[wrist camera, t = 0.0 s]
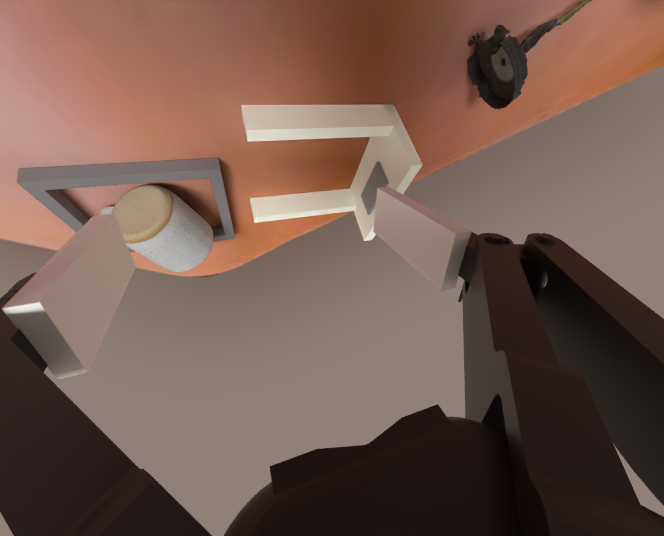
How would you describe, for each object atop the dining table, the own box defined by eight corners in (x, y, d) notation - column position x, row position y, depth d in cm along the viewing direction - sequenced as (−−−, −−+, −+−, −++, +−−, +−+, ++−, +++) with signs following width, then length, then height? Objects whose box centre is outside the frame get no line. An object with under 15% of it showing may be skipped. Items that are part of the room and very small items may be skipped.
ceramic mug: (168, 169, 29) (172, 234, 26) (211, 210, 37) (218, 263, 34) (74, 199, 29) (69, 266, 27) (136, 233, 37) (136, 287, 35)
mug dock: (241, 104, 25) (257, 177, 22) (393, 104, 29) (422, 164, 26) (250, 203, 38) (261, 256, 35) (355, 193, 42) (372, 239, 39)
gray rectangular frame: (18, 168, 24) (16, 182, 24) (218, 157, 29) (220, 169, 29) (104, 245, 37) (104, 255, 37) (233, 229, 42) (235, 238, 42)
